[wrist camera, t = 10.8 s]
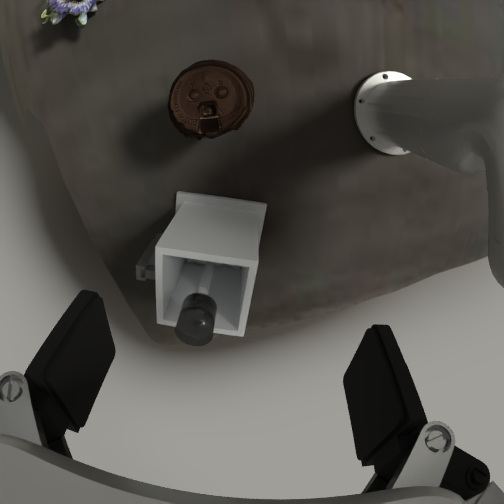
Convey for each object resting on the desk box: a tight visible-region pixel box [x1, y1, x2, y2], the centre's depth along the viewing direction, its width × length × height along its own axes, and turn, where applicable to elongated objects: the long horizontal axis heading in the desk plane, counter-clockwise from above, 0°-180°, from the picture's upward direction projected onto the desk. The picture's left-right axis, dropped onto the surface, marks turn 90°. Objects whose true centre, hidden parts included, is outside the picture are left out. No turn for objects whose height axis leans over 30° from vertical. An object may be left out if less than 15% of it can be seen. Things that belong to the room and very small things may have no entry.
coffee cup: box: [168, 60, 254, 140], centre depth 30 cm, size 9×8×13 cm
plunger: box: [175, 258, 240, 346], centre depth 36 cm, size 8×8×20 cm
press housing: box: [136, 191, 267, 337], centre depth 38 cm, size 15×13×15 cm
